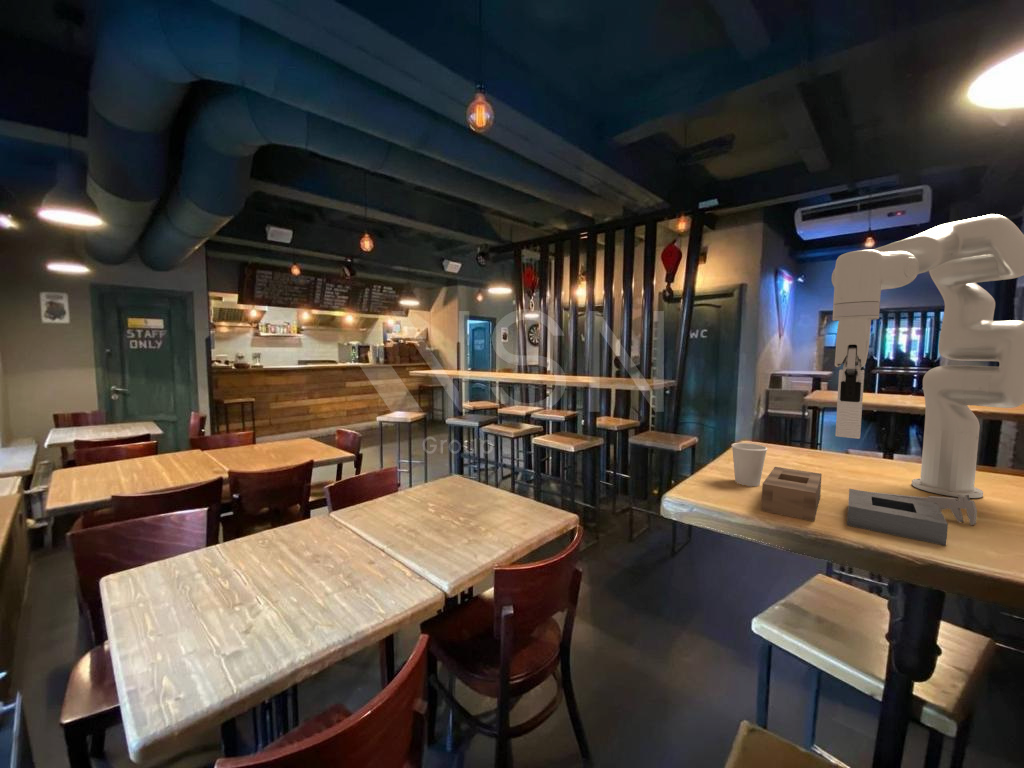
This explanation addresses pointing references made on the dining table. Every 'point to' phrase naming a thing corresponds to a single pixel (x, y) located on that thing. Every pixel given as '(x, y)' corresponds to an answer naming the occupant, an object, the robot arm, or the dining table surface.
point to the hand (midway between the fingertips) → (850, 399)
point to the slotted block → (792, 493)
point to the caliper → (950, 505)
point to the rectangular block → (849, 413)
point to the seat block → (897, 516)
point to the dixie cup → (748, 463)
